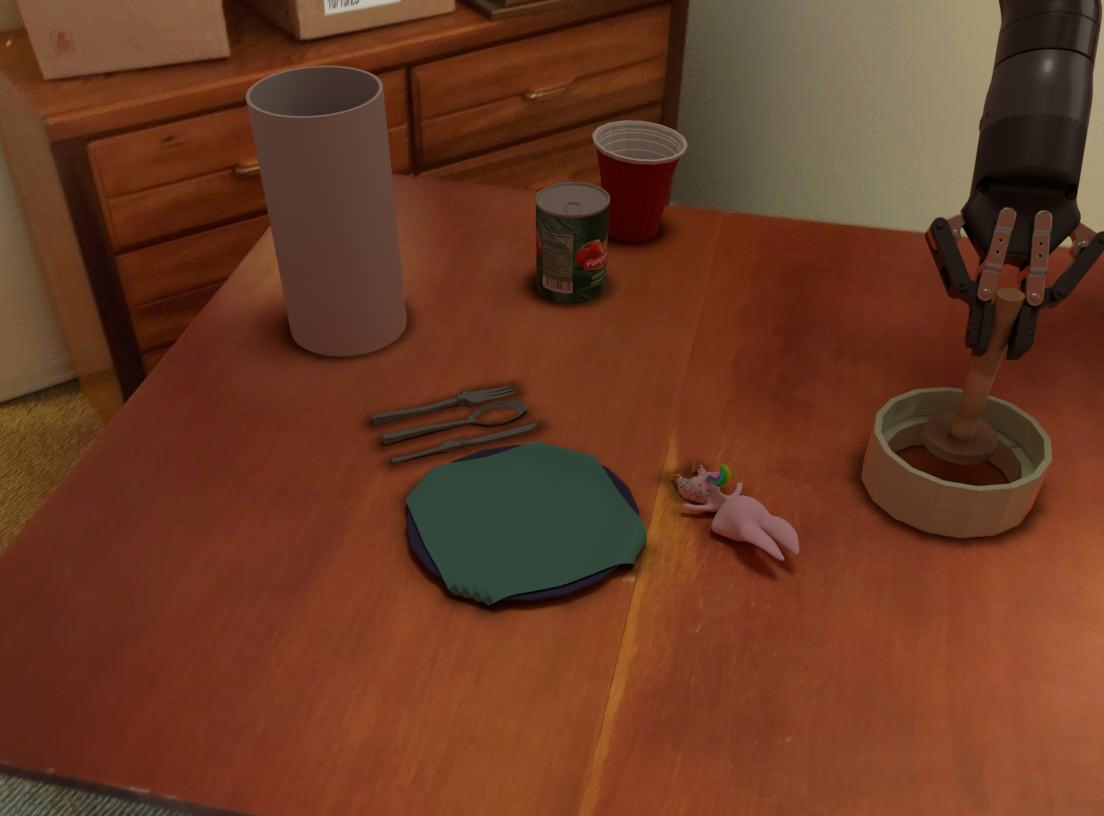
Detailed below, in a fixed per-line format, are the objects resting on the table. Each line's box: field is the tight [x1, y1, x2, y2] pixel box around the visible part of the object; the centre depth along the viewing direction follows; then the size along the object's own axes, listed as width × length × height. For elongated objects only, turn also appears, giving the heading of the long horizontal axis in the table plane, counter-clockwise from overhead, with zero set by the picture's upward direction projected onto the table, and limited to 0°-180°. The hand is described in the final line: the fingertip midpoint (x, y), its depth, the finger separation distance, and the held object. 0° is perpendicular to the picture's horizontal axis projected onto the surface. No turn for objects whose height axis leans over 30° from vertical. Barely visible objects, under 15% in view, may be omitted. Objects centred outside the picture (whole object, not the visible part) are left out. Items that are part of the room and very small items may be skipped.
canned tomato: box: [534, 181, 610, 305], centre depth 116 cm, size 8×8×11 cm
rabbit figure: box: [668, 459, 800, 562], centre depth 89 cm, size 6×6×15 cm
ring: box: [860, 386, 1053, 539], centre depth 92 cm, size 14×14×6 cm
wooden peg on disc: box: [921, 287, 1025, 465], centre depth 85 cm, size 6×6×14 cm
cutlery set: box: [371, 384, 647, 606], centre depth 94 cm, size 20×30×2 cm, turn 21°
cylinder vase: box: [245, 65, 408, 357], centre depth 106 cm, size 12×12×25 cm
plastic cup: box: [592, 119, 689, 243], centre depth 124 cm, size 11×11×12 cm
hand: (996, 355), depth 82 cm, fingers closed on wooden peg on disc
